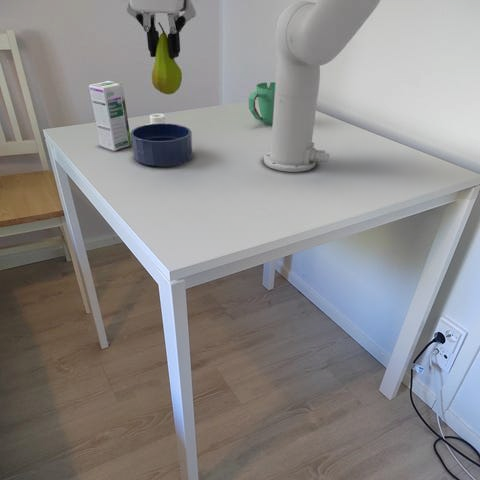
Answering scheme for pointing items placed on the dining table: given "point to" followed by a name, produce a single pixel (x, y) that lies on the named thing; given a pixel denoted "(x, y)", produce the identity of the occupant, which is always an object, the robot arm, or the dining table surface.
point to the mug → (263, 102)
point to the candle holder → (157, 119)
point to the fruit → (165, 68)
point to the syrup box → (110, 114)
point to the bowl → (161, 144)
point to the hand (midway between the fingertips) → (164, 55)
